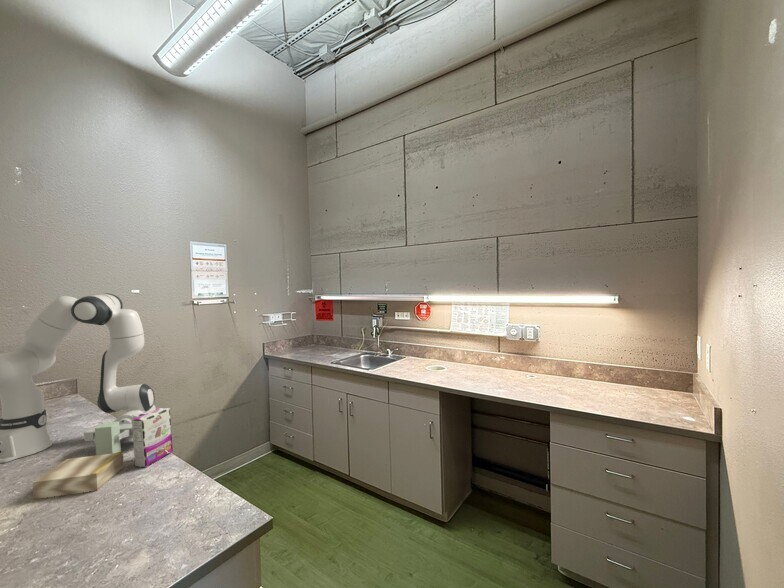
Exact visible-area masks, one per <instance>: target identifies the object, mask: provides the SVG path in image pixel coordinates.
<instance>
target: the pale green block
mask: <svg viewBox="0 0 784 588" xmlns="http://www.w3.org/2000/svg"><path fill="white" fill-rule="evenodd" d="M98 425H99V426H98ZM98 425H97V426H98V427H96V428H95V442H96V443H95V456H96V455H104V454H112V453H117V452H122V447H121V440H116V441H115V435H117V434H120V427H119V421H118V422H114V421H109V422H103V423H101V424H98Z"/></svg>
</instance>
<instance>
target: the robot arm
mask: <svg viewBox="0 0 784 588" xmlns="http://www.w3.org/2000/svg"><path fill="white" fill-rule="evenodd" d="M123 307H124V304H123V301H122V299H121V298H120V297H118V296H117V295H115V294H113V293H108V292H107V293H96V294H91V295H88V296H87V295H86V296H83V297H81V298H76V297H74V296H71V295H61V296H58V297H56V298H55V299H54V300H53V301H52V302H50V303H49V304H48V305H47V306H46V307H45V308H44V309H43V310H42V311H41V312H40V313H39V314H38V315H37V316H36V318H35V319H34V320H33V322H31V324H29V326H28V327H27V328H26V329H25V330H24V333H23V335H24V338H25V340H24V341H23V344H22V345H21V346H20V347H19V348H17V349H15V350H12V351H7V352H3V353H2V352H1V353H0V409H1V418H0V464H1V463H2V464H3V463H8V462H11V461H14V460H16V459H20V458H23V457H27V456H31V455H34V454H37V453H39V452H41V451H44V450H46V449H48V448H50V447H52V446H53V442H52V440H51V438H50V435H49V432H48V428H47V422H48V421H47V418H48V417H47V416H48V415H47V410H46V409H45V400H44V399H45V398H44V396H45V395H44V391H43V389H42V388H40V387H38V385H36V383H35V381H34V379H33V376H35V375H38V374H41V373H43V372H45V371H48V369H50V368H52V366H54V364H55V363H56V360H57V356H56V352H57V351H58V348H59V347H60V345H61V344H62V342H63V341H64V340H65V338H66V337H67V336H68V335H69V333H71V331H72V330H73V329H74V327H75V326H76V325H77V324H78V323H79V322H80V323H82V324H88V325H95V326H104V325H105V326H106V327H107V328H108V331H109V339H110V340H109V347H108V349H107V350H106V351H104V353H103V354H102V359H101V364H100V367H101V368H100V378H99V379H100V381H99V393H98V397H97V408H98V409H99V410H101V412H104V413H105V414H111V413H116V412H120V411H125V412H124V413H123V414H121V415H120V416H118V417H117V418H116V419H114V421H113V422H118V421H119V427H120V434H117V435H115V441H116V440H120V441H121V440H122V439H125V438H127V437H128V438H129V437H133V430H132V420H133V419H135V418H137V417H140V416H142V415H144V414H147V413H149V412H151V411H154V410H156V409H157V408H156V405H155V392H154V390H153V388H152V387H151V386H150V385H148V384H146V383H139V384H133V385H125V386H117V373H118V372H117V370H118V366H119V364H120V363H121V362H123V361H125V360H128V359H130V358H132V357H134V356H136V355H137V354H138V353H140V352H141V351H142V350H143V348H144V347H145V345H146V344H145V342H146V341H145V332H144V328H143V327H144V326H143V323H142V320H141V318H140V315H139V313H138V311H137V310H134V309H130V308H123ZM99 425H100V424H98V425H95V426H93V427H91V428H89V429H87V430H85V431H84V433H83V439H84V441H85V442H92V441H93V443H94V444H96V442H95V428H96V427H98V426H99Z"/></svg>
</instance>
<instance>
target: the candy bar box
mask: <svg viewBox="0 0 784 588" xmlns="http://www.w3.org/2000/svg"><path fill="white" fill-rule="evenodd" d="M132 430H133V436H132V441H133V453H134V454H133V455H134V466H135V467H136V466H141V467H140V468H147V466H148V467H150V466H151V465H153V464H154V463H157V462H158V461H159V460H161V459H163V458H165V457H166V456H168V455H169V454H167V452H166V451H165V450H167V451H168V452H170V454H171V453H173V452H174V450H173V436H172V435H173V434H172V421H171V408H168V407H158V408H156V410H154V411H151V412H149V413H147V414H144V415H142V416H140V417H137V418H135V419H133V420H132ZM162 448H164V449H162ZM152 463H153V464H152Z"/></svg>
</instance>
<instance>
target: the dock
mask: <svg viewBox="0 0 784 588" xmlns="http://www.w3.org/2000/svg"><path fill="white" fill-rule="evenodd" d="M123 468H124V451H123V450H121V452H117V453H112V454H104V455H96V454H95V455H89V456H80V457H72V458H71V457H70V458H67V459H65V460H64V461H62V462H60V463H58V464H57V465H56V466H55V467H54V468H52V469H51V470H49V471H47V472H46V473H44V474H43V475H41V476H40V477H38V478H37V479H36V480H34V481H32V492H33V493H32V494H33V495H32V496H33V500H39V499H47V497H48V498H54V496H55V497H60V496H61V495H62V496H70V495H74V494H76V495H77V494H83V492H84V493H90V492H89V491H91V492H97V491H96V490H98V489H99V490H100V489H101V488H102V487H103V486H104V485H106V483H107V482H108V480H109V481H110V480H111V479H112V478H113V477H114V476H115V475H116V474H118V473H119V472H120V471H119V470H122V469H123ZM99 490H98V491H99Z"/></svg>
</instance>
